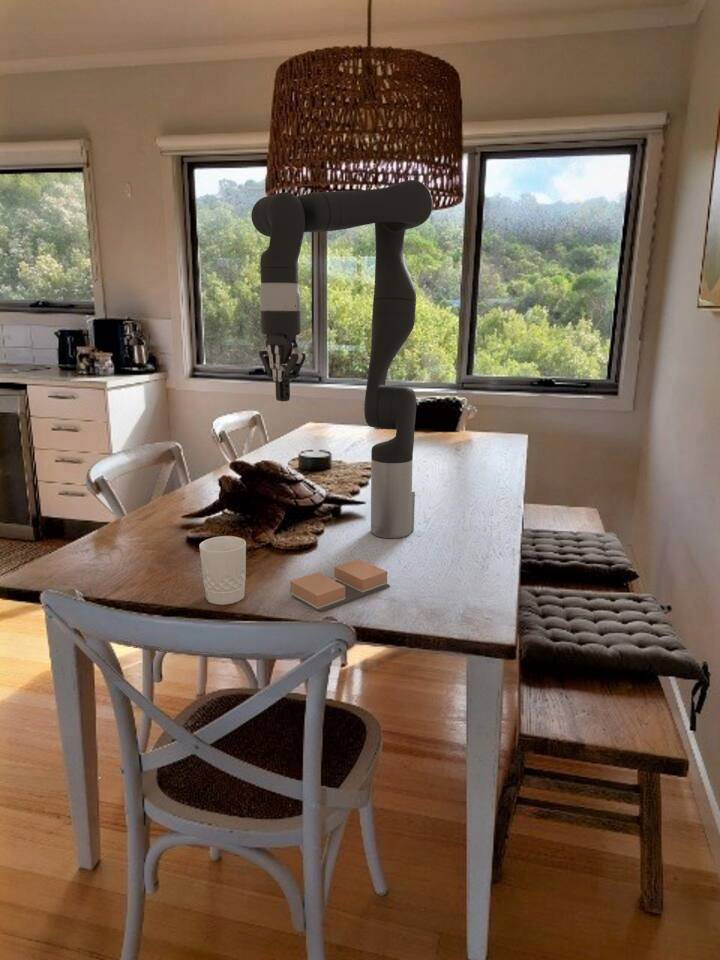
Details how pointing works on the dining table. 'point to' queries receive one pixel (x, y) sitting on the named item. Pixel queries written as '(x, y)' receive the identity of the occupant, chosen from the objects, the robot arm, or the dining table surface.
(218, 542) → the white cup
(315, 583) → the tile
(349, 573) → the tile
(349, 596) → the mat
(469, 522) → the dining table surface
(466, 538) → the dining table surface
